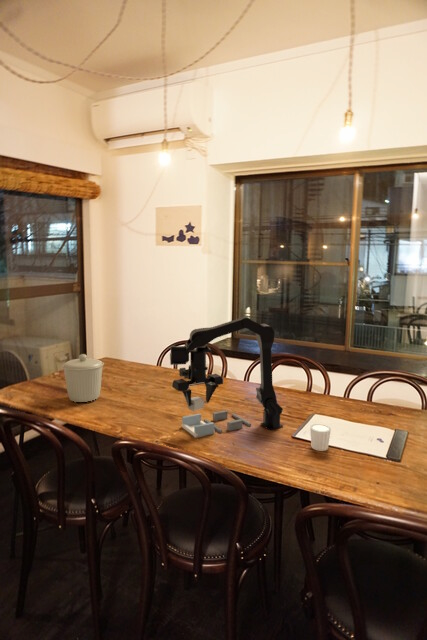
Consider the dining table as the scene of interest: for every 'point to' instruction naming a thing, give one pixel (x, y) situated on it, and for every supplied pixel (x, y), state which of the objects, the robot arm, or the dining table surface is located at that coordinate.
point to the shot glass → (320, 437)
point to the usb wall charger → (196, 403)
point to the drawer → (197, 426)
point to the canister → (83, 378)
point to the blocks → (231, 424)
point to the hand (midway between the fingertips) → (198, 404)
